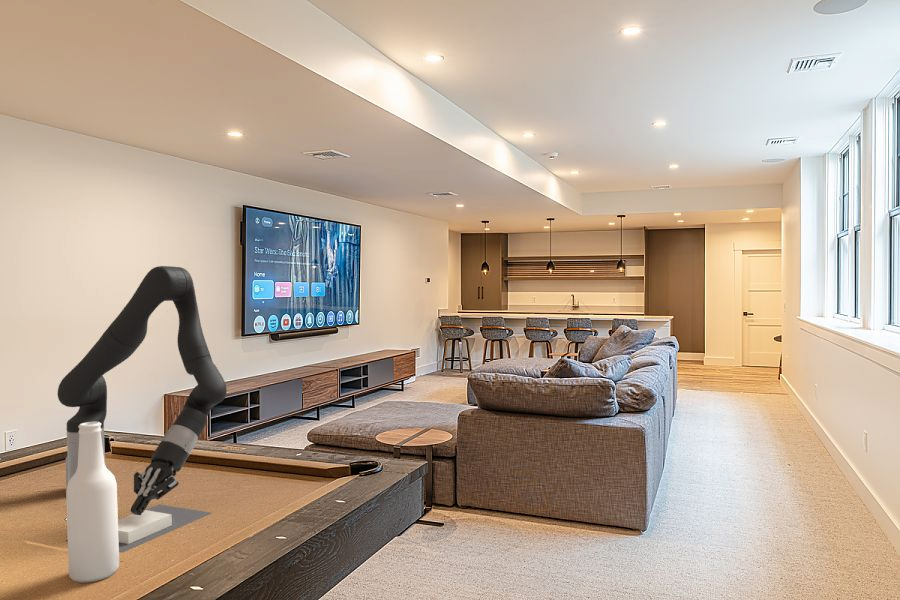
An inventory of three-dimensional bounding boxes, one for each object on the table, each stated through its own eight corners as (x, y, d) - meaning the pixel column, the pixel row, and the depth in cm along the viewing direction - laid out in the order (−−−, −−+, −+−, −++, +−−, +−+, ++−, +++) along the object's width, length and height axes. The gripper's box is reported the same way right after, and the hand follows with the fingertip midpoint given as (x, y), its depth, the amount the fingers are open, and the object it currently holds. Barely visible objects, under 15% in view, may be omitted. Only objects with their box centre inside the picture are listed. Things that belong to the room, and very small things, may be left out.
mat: (65, 542, 146) (65, 540, 146) (159, 505, 170) (159, 504, 170) (122, 554, 139) (122, 552, 139) (212, 514, 163) (212, 512, 163)
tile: (144, 520, 158) (99, 538, 147) (143, 509, 158) (99, 526, 147) (171, 525, 154) (128, 544, 143) (171, 514, 154) (128, 532, 143)
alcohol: (66, 587, 124) (60, 430, 123) (72, 569, 132) (67, 421, 131) (117, 578, 127) (113, 425, 127) (120, 561, 136) (116, 417, 135)
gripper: (146, 437, 161) (104, 502, 150) (187, 441, 156) (146, 509, 145) (164, 453, 166) (124, 517, 155) (204, 458, 161) (165, 524, 150)
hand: (135, 513), depth 150 cm, fingers closed
